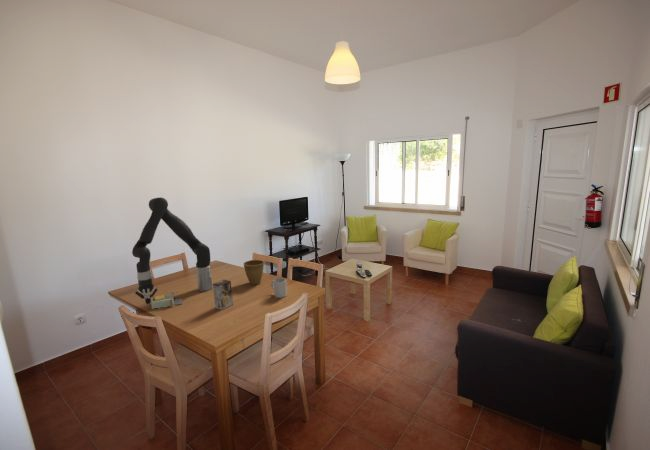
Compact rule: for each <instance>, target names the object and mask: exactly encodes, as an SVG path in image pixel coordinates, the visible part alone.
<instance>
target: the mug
mask: <svg viewBox="0 0 650 450" xmlns="http://www.w3.org/2000/svg"><path fill="white" fill-rule="evenodd" d="M271 288H272V290H273V295H274V296H273V297H275V298H279V299H280V298H281V299H282V298H285V297H287V295H288V291H287V279H286V278H284V277H277V278H274V279H272V281H271Z"/></svg>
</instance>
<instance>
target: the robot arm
mask: <svg viewBox="0 0 650 450" xmlns="http://www.w3.org/2000/svg"><path fill="white" fill-rule="evenodd" d="M168 206H169V202H168V200H167V199H165V197H154V198H151V199H150V200H149V201H148V207H149V209H150V211H151V215H150V217H149V218H148V220H147V222H146V223H145V225H144V227H142V231H141V233H140V236H139V239H138V240H137V242H136V243H135V244H134V246H133V248H132V251H131V254H132V256H133V257H134V258H139V261H138V262H137V263H136V271H137V272H136V273H137V275H136V276H137V282H138V289H137V290H136V291H135V292H134V294H135V295H137V296H138V297H139V298H141V299H144V301H145V304H146V305H151V302H152V298H153V297H155V296H154V295H155V294H156V292H157V291H158V289H159V288H158V287H155V286H154V284H153V276H152V272H151V271H152V270H151V266H150V262H151V250H150V249H149V248H148V247H147V246H148V245H150V244H152V242H153V240H154V237H155V234H156V231H157V229H158V226H159V224H160V222H161V220H162V221H163V222H164V224H166V225H167V226H168V228H169V229H170V230H171V231H172V232H173V233H174V234H175V235H176V236H177V237H178V238H179V239H180V240H182V242H184V243H186V244H187V246H188V247H189V248H190V250H191V251H192V252H193V253H194V254H195V256H196V262H195V267H196V276H197V286H198V288H197V289H198V291H200V292H205V291H210V290H213V281H212V271H211V251H210V247H209V246H207V244H204V243H203V242H202V241H200V240H199V239H198V238H197V237H196V236H195V235H194V233H193V231H192V229H191V228H190V227H189V225H188V224H186V222H185V221H184V220H182V219H181V218H180V217H178V215H176V214H174V213H172V211H170V210H169V208H168Z"/></svg>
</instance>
